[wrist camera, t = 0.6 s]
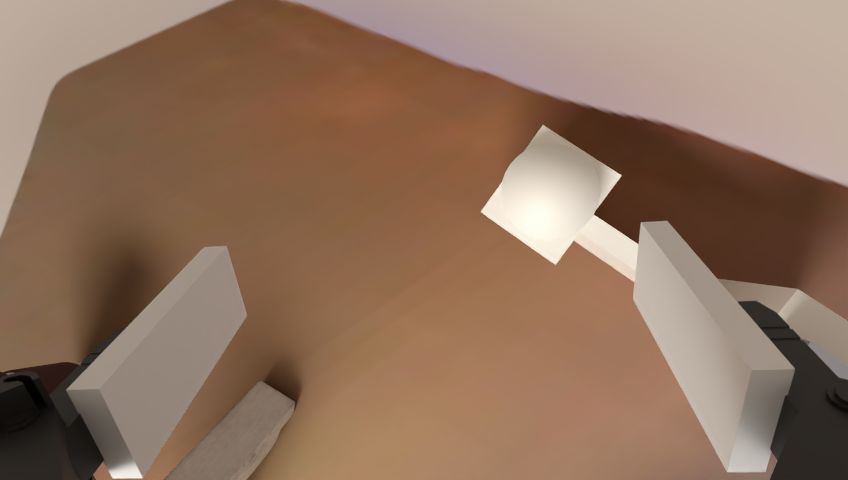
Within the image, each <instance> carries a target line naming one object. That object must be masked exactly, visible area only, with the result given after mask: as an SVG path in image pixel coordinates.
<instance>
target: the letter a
mask: <svg viewBox="0 0 848 480" xmlns="http://www.w3.org/2000/svg"><path fill="white" fill-rule="evenodd" d="M294 408H295V401H293V400H292V399H290V398H288V397H287V396H285V395H283V394H282V393H280V392H279V391H277V390H275V389H274V388H272V387H271V386H269V385H267V384H266V383H264V382H263V381H261V380H259V381H258V383H257V384H256V385H255V386H254V387H253V388H252V389H251V390H250V391H249V392H248V393H247V394H246V395H245V396H244V397H243V398H242V399H241V400H240V401H239V402H238V403H237V404H236V405H235V406H234V407H233V408H232V410H231V411H230V412H229V413H228V414H227V415H226V416H225V417H224V418H223V419H222V420H221V421H220V422H219V423H218V424H217V425H216V426H215V427H214V428H213V429H212V430H211V431H210V432H209V433H208V434H207V435H206V437H205V438H204V439H203V440H202V441H201V442H200V443H199V444H198V445H197V446H196V447H195V448H194V449H193V450H192V451H191V452H190V453H189V454H188V455H187V456H186V457H185V458H184V459H183V460H182V461H181V463H180V464H179V465H178V466H177V467H176V468H175V469H174V470H173V471H172V472H171V473H170V474H169V475H168V476H167V477H166V478H165V479H164V480H247V479H248V478H249V477H250V475H251V474H252V473H253V472H254V470H255V469H256V468H257V467H258V466H259V464H260V463H261V462H262V461H263V459H264V458H265V457H266V456H267V455H268V453H269V452H270V450H271V449H272V447H273V446H274V444H275V442H276V440H277V438H278V436H279V433H280V430H281V429H282V427H283V426H284V425H285V424H286V423H287V421H288V420H289V419H290V418H291V417H292V415H293V413H294Z"/></svg>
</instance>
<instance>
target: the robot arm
mask: <svg viewBox="0 0 848 480" xmlns="http://www.w3.org/2000/svg"><path fill="white" fill-rule="evenodd" d="M633 300H634V302H635V304H636V305H637V307H638V309H639V311H640V313H641V315H642V316H643V318H644V320H645V322H646V324H647V326H648V328H649V329H650V331H651V333H652V335H653V337H654V339H655V340H656V342H657V344H658V346H659V348H660V350H661V351H662V353H663V355H664V357H665V359H666V361H667V363H668V364H669V366H670V368H671V370H672V372H673V374H674V375H675V377H676V379H677V381H678V383H679V385H680V386H681V388H682V390H683V392H684V394H685V396H686V398H687V399H688V401H689V403H690V405H691V407H692V409H693V410H694V412H695V414H696V416H697V418H698V420H699V421H700V423H701V425H702V427H703V429H704V431H705V433H706V434H707V436H708V438H709V440H710V442H711V444H712V445H713V447H714V449H715V451H716V453H717V455H718V456H719V458H720V460H721V462H722V464H723V466H724V468H725V469H726V471H727V472H766V469H767V465H768V462H769V458H770V455H771V452H773V454H774V455H775V457H776V458H777V460H778V462H777V464H776V466H775V469H774V471H773V474H772V476H771V478H770V480H848V380H847V379H843V378H839V377H838V376H837V375H836V374H835V373H834V372H833V371H832V370H831V369H830V368H829V367H828V366H827V365H826V364H825V363H824V362H823V361H822V360H821V358H820V357H819V356H818V355H817V354H816V353H815V352H814V351H813V350H812V349H811V348H810V347H809V346H808V345H807V344H806V343H805V342H804V341H803V340H801V339H800V336H799V335H798V334H797V333H796V332H795V331H794V330H793V329H790V326H789V325H788V324H787V323H786V322H785V321H784V320H783V319H782V318H781V317H780V316H779V314H778V313H777V312H775V311H773V310H771V309H770V308H768V307H766V306H765V305H763V304H761V303H759V302H758V301H736V300H735V299H734V298H733V296H732V295H731V294H730V293H729V292H728V291H727V289H726V288H725V287H724V286H723V285H722V284H721V283H720V281H719V280H718V279H717V278H716V277H715V276H714V274H713V273H712V272H711V271H710V270H709V269H708V267H707V266H706V265H705V264H704V263H703V262H702V261H701V259H700V258H699V257H698V256H697V255H696V254H695V252H694V251H693V250H692V249H691V248H690V247H689V245H688V244H687V243H686V242H685V241H684V240H683V239H682V237H681V236H680V235H679V234H678V233H677V232H676V230H675V229H674V228H673V227H672V226H671V225H670V223H669V222H668V221H655V222H641V226H640V235H639V245H638V255H637V265H636V275H635V284H634V294H633ZM246 317H247V313H246V310H245V306H244V303H243V300H242V296H241V293H240V290H239V286H238V283H237V280H236V276H235V273H234V270H233V266H232V263H231V259H230V256H229V253H228V249H227V246H216V247H204V248H203V249H202V250H201V251H200V252H199V253H198V254H197V255H196V256H195V257H194V258H193V259H192V260H191V261H190V262H189V263H188V264H187V266H186V267H185V268H184V269H183V270H182V271H181V272H180V273H179V274H178V275H177V276H176V277H175V278H174V279H173V280H172V281H171V282H170V283H169V284H168V285H167V286H166V287H165V288H164V289H163V290H162V291H161V292H160V293H159V294H158V295H157V296H156V298H155V299H154V300H153V301H152V302H151V303H150V304H149V305H148V306H147V307H146V308H145V309H144V310H143V311H142V312H141V313H140V314H139V315H138V316H137V317H136V318H135V319H134V320H133V321H132V322H131V323H130V324H129V325H128V326H127V327H126V328H122V329H120V330H119V331H117V332H116V333H114V334H112V335H111V336H109V337H108V338H106V339H105V340H103V341H102V342H101V343H100V344H99V345H98V346H97V347H96V348H95V349H94V350H93V351H92V352H91V355H88V356H87V357H86V358H85V359H84V360H83V361H82V362H81V363H80V364H81V366H78V367H77V368H76V369H75V370H74V371H73V372H72V373H71V374H70V375H69V376H68V377H67V378H66V379H65V380H64V381H63V382H62V383H61V384H60V385H59V386H58V387H57V388H56V389H55V390H54V391H53V392H52V393H51V394H50V395H49V394H48V392H47V390H46V388H45V387H44V385H43V383H42V381H41V379H40V378H39V376H38V374H37V373H35V372H31V371H25V372H17V373H13V374H10V375H7V376H3V377H1V378H0V480H96V479H95V478H94V476H93V474H94V473H95V471H96V470H97V469H98V467H99V466H100V464H101V463H102V462H103V461H104V463H105V465H106V467H107V469H108V471H109V473H110V474H111V476H112V478H143V477H144V476H145V474H146V472H147V471H148V469H149V468H150V466H151V465H152V463H153V461H154V460H155V458H156V457H157V455H158V454H159V452H160V451H161V449H162V447H163V446H164V444H165V443H166V441H167V440H168V438H169V437H170V435H171V433H172V432H173V430H174V429H175V427H176V426H177V424H178V423H179V421H180V419H181V418H182V416H183V415H184V413H185V412H186V410H187V408H188V407H189V405H190V404H191V402H192V401H193V399H194V398H195V396H196V394H197V393H198V391H199V390H200V388H201V387H202V385H203V384H204V382H205V380H206V379H207V377H208V376H209V374H210V373H211V371H212V370H213V368H214V366H215V365H216V363H217V362H218V360H219V359H220V357H221V355H222V354H223V352H224V351H225V349H226V348H227V346H228V345H229V343H230V341H231V340H232V338H233V337H234V335H235V334H236V332H237V331H238V329H239V327H240V326H241V324H242V323H243V321H244V320H245V318H246Z"/></svg>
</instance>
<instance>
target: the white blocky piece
mask: <svg viewBox="0 0 848 480" xmlns="http://www.w3.org/2000/svg"><path fill="white" fill-rule="evenodd" d="M621 176H622V175H620V174H618V173H617V172H615V171H614V170H612V169H611V168H609V167H608V166H606V165H604V164H603V163H601V162H600V161H598V160H597V159H595V158H594V157H592V156H590V155H589V154H587V153H586V152H584V151H583V150H581V149H580V148H578V147H576V146H575V145H573V144H572V143H570V142H569V141H567V140H566V139H564V138H562V137H561V136H559V135H558V134H556V133H555V132H553V131H552V130H550V129H548V128H547V127H545V126H544V125H542V127H541V128H540V130H539V131H538V132H537V134H536V135H535V137H534V138H533V139H532V141H531V142H530V144H529V145H528V146H527V148H526V149H525V151H524V152H523V153H521V154H520V155H519V156H518V157H516V158H515V159H514V161H513V162H512V163H511V164H510V166H509V167H508V169H507V171H506V173H505V175H504V178H503V181H502V183H501V184H500V186H499V187H498V188H497V190H496V191H495V193H494V194H493V195H492V197H491V198H490V200H489V201H488V202H487V204H486V205H485V207H484V208H483V209H482V211H481V212H482V213H483V214H484V215H486V216H487V217H488V218H490V219H491V220H493V221H494V222H495V223H497V224H498V225H499V226H501V227H502V228H504V229H505V230H507V231H508V232H509V233H511V234H512V235H514V236H515V237H517V238H518V239H519V240H521V241H522V242H524V243H525V244H526V245H528V246H529V247H531V248H532V249H534V250H535V251H536V252H538V253H539V254H541V255H542V256H544V257H545V258H546V259H548V260H549V261H551V262H552V263H554V264H555V265H556V263H557V262H558V261H559V259H560V258H561V257H562V255H563V254H564V253H565V251H566V250H567V249H568V247H569V246H570V245H571V243H572V242H573V241H575V242H577V243H578V244H580V245H581V246H582V247H584V248H585V249H587V250H588V251H590V252H591V253H593V254H594V255H596V256H597V257H598V258H600V259H601V260H603V261H604V262H606V263H607V264H609V265H610V266H612V267H613V268H614V269H616V270H617V271H619V272H620V273H622V274H623V275H625V276H626V277H628V278H629V279H630V280H632V281H633V282H635V275H636V265H637V255H638V245H639V244H637V243H636V242H634V241H633V240H631V239H630V238H628V237H627V236H625V235H624V234H622V233H621V232H619V231H618V230H616V229H615V228H613V227H612V226H610V225H609V224H607V223H606V222H604V221H603V220H601V219H600V218H598V217H597V216H595V215H594V213H595V211H596V210H597V208H598V207H599V205H600V204H601V203H602V201H603V200H604V199H605V197H606V196H607V195H608V193H609V192H610V191H611V189H612V188H613V187H614V185H615V184H616V183H617V181H618V180H619V179H620V177H621ZM718 280H719V281H720V283H721V284H722V285H723V286H724V287H725V288H726V289H727V291H728V292H729V293H730V294H731V295H732V296H733V298H734V299H735V300H736V301H758V302H759V303H761V304H763V305H765V306H766V307H768V308H770V309H771V310H773V311H775V312H777V313H778V314H779V316H780V317H781V318H782V319H783V320H784V321H785V322H786V323H787V324H788V325H789V326H790V329H793V330H794V331H795V332H796V333H797V334H798V335H799V336H800V339H801V340H803V341H804V342H805V343H806V344H807V345H808V346H809V347H810V348H811V349H812V350H813V351H814V352H815V353H816V354H817V355H818V356H819V357H820V358H821V360H822V361H823V362H824V363H825V364H826V365H827V366H828V367H829V368H830V369H831V370H832V371H833V372H834V373H835V374H836V375H837V376H838V377H839V378H843V379H847V380H848V321H847V320H845V319H844V318H842V317H841V316H839V315H838V314H836V313H834V312H833V311H831V310H830V309H828V308H827V307H825V306H824V305H822V304H820V303H819V302H817V301H816V300H814V299H813V298H811V297H810V296H808V295H806V294H805V293H803V292H802V291H800V290H799V289H794V288H787V287H779V286H771V285H764V284H756V283H748V282H741V281H733V280H725V279H718Z"/></svg>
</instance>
